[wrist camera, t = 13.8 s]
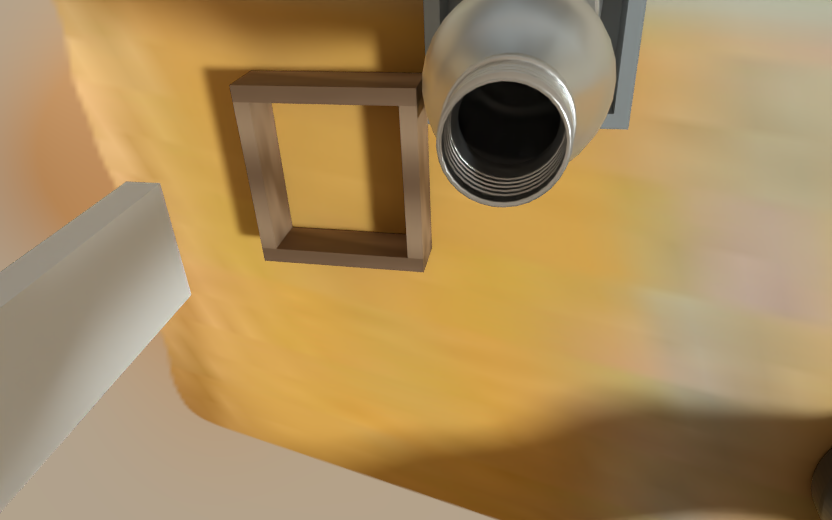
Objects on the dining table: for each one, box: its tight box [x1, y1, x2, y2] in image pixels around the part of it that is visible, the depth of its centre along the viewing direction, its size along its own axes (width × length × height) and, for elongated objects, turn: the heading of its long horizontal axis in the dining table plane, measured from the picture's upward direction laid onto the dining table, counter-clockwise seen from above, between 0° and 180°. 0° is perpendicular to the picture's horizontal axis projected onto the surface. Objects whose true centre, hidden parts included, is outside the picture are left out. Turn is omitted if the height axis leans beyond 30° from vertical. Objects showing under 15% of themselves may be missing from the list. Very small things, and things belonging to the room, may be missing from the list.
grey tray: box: [423, 0, 647, 129], centre depth 32 cm, size 12×11×4 cm
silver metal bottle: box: [422, 0, 616, 207], centre depth 25 cm, size 6×7×20 cm
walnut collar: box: [229, 71, 432, 272], centre depth 40 cm, size 12×11×3 cm
